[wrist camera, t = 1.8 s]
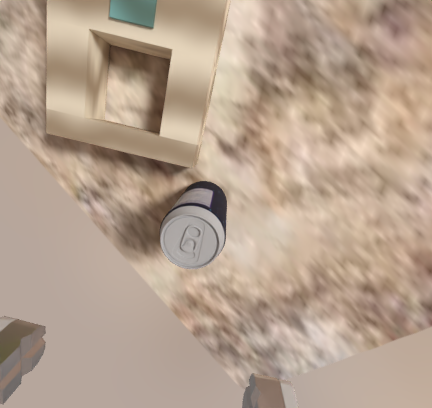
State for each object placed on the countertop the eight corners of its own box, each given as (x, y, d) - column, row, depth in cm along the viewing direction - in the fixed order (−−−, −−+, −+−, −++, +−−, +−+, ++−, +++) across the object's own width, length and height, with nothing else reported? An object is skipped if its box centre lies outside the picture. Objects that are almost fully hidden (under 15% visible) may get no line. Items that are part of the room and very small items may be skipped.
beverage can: (178, 212, 30) (146, 259, 19) (191, 173, 29) (166, 198, 17) (217, 227, 31) (210, 282, 19) (233, 189, 29) (236, 224, 18)
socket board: (77, -38, 23) (44, -75, 19) (230, 1, 23) (230, -28, 19) (70, 133, 28) (43, 133, 24) (197, 163, 28) (191, 168, 24)
